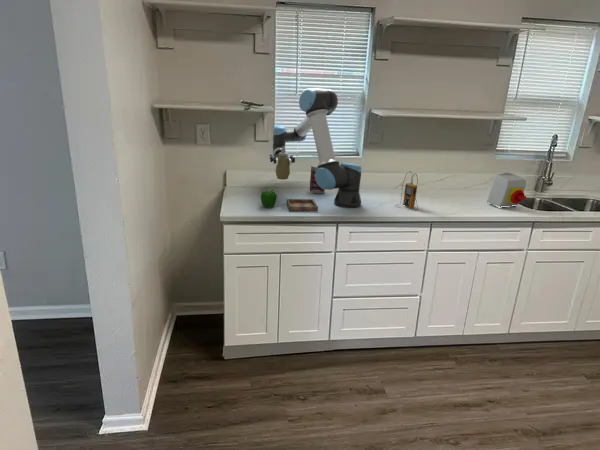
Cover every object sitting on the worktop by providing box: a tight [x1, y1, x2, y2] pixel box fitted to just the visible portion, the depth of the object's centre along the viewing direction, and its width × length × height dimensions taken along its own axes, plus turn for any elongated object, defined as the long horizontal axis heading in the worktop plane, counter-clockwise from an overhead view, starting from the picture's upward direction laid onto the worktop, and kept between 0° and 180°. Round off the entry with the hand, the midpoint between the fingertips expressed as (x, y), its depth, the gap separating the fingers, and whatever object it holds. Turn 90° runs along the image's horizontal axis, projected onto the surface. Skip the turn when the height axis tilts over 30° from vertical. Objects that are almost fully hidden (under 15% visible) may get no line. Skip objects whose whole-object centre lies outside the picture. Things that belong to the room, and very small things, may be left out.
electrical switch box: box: [486, 171, 527, 207], centre depth 243 cm, size 15×15×20 cm
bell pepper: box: [260, 187, 278, 209], centre depth 221 cm, size 8×8×10 cm
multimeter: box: [400, 170, 419, 211], centre depth 232 cm, size 15×10×20 cm
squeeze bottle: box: [275, 145, 291, 181], centre depth 232 cm, size 8×8×18 cm
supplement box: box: [309, 165, 326, 194], centre depth 255 cm, size 9×5×16 cm, turn 104°
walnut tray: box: [285, 198, 319, 213], centre depth 225 cm, size 15×15×2 cm
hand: (284, 162), depth 227 cm, fingers closed on squeeze bottle, 6 cm apart
